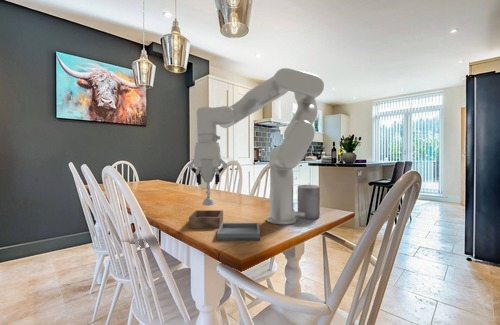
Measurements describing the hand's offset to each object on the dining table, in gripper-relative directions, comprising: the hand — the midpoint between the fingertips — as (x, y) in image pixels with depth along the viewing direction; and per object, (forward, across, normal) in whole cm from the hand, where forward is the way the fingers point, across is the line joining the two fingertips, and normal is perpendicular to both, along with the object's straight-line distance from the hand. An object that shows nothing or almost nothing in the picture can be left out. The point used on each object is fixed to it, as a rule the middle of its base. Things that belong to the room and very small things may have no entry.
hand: (208, 183), depth 95 cm
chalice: (+8, 0, 0) cm, 8 cm away
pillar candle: (+17, -43, -11) cm, 47 cm away
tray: (+16, -13, +13) cm, 24 cm away
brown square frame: (+16, +1, 0) cm, 16 cm away
